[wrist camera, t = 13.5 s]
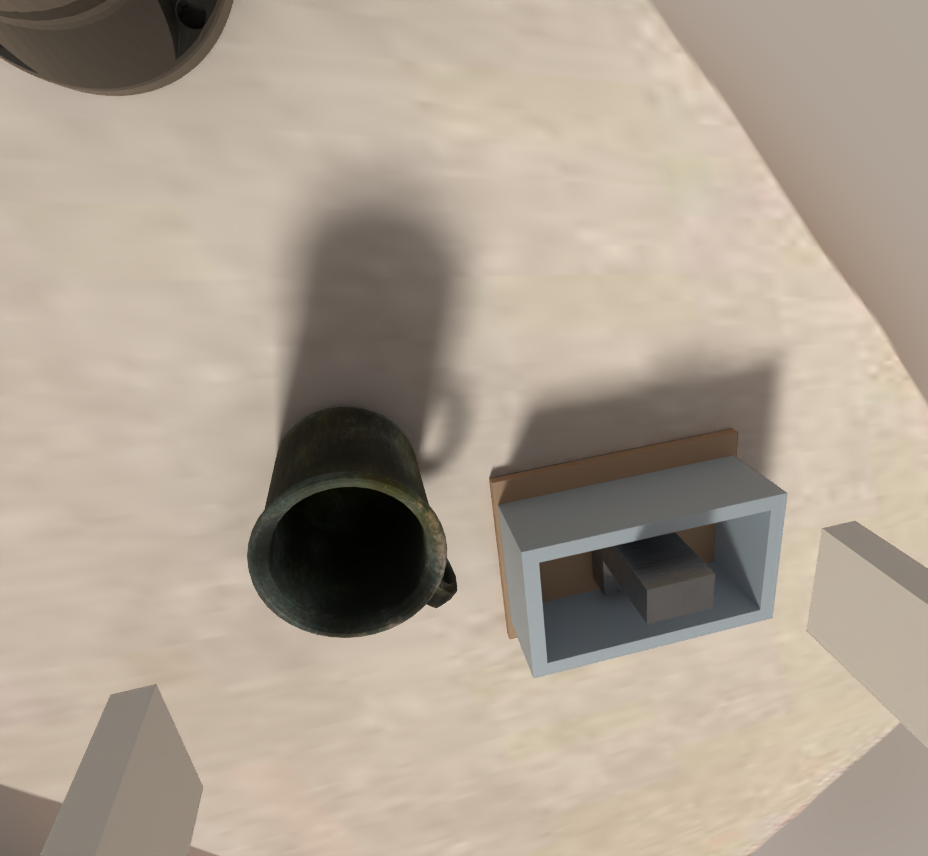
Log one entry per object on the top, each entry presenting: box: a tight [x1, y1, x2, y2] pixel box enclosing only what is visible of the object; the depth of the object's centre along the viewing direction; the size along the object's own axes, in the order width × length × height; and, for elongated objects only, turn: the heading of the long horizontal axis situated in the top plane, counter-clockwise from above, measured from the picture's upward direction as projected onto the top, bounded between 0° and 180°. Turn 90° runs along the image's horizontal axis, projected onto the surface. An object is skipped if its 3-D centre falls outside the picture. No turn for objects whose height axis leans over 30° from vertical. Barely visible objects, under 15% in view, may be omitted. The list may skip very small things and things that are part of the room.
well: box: [489, 429, 787, 678], centre depth 48 cm, size 16×21×7 cm
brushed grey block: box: [592, 532, 715, 624], centre depth 46 cm, size 6×5×10 cm
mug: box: [247, 407, 457, 638], centre depth 39 cm, size 11×15×12 cm
